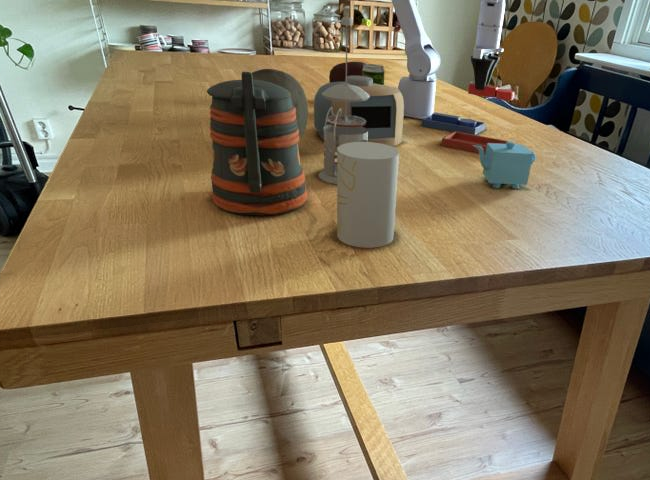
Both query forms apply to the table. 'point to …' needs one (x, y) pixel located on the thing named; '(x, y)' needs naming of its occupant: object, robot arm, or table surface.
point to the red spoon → (492, 92)
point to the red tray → (468, 141)
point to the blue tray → (453, 126)
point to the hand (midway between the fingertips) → (481, 88)
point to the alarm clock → (366, 110)
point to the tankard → (255, 148)
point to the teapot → (506, 163)
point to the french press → (341, 121)
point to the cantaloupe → (293, 87)
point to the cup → (366, 193)
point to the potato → (340, 71)
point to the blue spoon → (453, 120)
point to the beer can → (374, 73)
